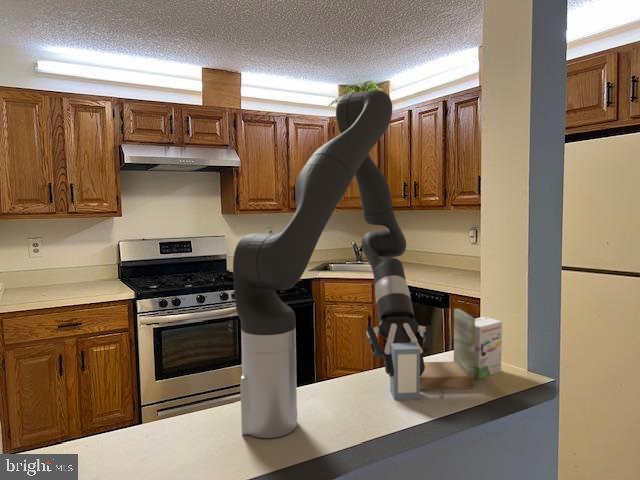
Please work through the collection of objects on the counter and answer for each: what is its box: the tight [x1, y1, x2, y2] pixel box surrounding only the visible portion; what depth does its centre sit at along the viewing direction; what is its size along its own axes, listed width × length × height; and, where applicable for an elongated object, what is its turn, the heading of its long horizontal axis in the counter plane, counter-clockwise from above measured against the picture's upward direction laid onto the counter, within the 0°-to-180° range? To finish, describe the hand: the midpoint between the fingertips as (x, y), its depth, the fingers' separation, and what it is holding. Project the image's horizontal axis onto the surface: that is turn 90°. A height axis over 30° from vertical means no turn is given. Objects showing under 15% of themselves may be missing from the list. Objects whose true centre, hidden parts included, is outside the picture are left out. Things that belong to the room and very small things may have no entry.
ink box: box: [474, 316, 503, 380], centre depth 104 cm, size 8×5×12 cm, turn 126°
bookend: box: [420, 308, 476, 391], centre depth 99 cm, size 12×9×14 cm
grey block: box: [389, 343, 421, 401], centre depth 92 cm, size 5×4×10 cm
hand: (406, 374), depth 91 cm, fingers closed on grey block, 5 cm apart
